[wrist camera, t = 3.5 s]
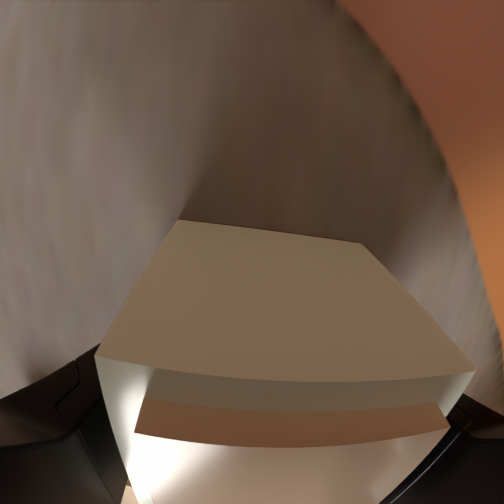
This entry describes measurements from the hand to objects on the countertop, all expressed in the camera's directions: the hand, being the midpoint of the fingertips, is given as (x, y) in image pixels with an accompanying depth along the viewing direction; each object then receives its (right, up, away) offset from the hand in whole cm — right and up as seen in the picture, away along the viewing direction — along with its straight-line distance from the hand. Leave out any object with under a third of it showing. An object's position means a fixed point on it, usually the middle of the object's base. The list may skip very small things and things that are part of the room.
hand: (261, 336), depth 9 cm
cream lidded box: (0, 0, +1) cm, 1 cm away
